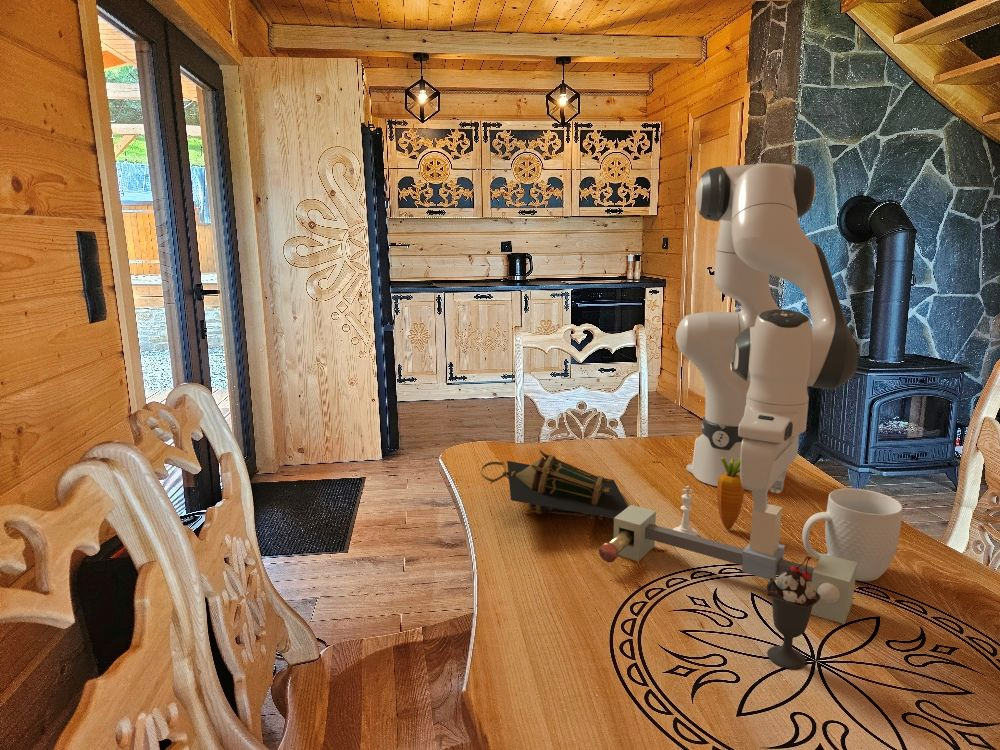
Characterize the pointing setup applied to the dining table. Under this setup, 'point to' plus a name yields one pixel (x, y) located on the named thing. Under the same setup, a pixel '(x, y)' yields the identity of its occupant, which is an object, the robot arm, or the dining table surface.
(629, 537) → the cylinder
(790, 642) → the sundae
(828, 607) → the guide rail
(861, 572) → the mug
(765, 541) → the carriage
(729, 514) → the carrot
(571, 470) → the lantern
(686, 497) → the chess piece
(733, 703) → the dining table surface
